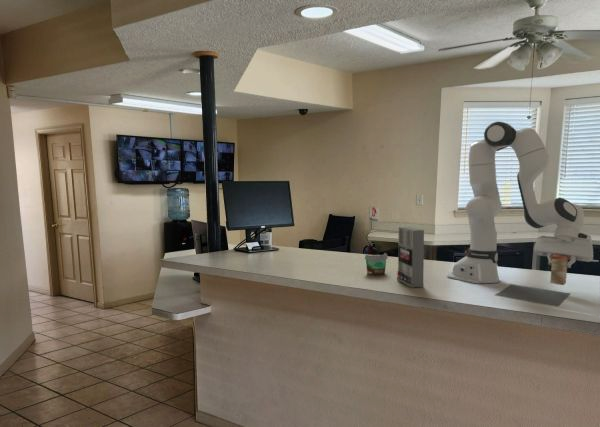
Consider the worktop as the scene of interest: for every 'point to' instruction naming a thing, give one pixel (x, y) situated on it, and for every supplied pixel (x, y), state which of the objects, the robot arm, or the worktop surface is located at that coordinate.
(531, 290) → the charcoal mat
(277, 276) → the worktop surface
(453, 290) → the worktop surface
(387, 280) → the worktop surface
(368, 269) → the food container
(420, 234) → the cassette tape recorder
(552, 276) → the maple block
